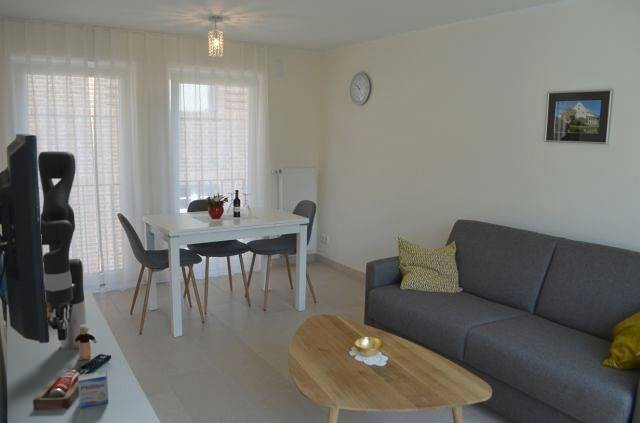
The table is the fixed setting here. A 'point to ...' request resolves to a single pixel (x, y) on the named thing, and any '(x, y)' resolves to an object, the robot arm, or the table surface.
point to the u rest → (55, 403)
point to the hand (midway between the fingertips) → (62, 339)
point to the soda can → (64, 384)
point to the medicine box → (93, 389)
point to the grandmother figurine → (84, 342)
